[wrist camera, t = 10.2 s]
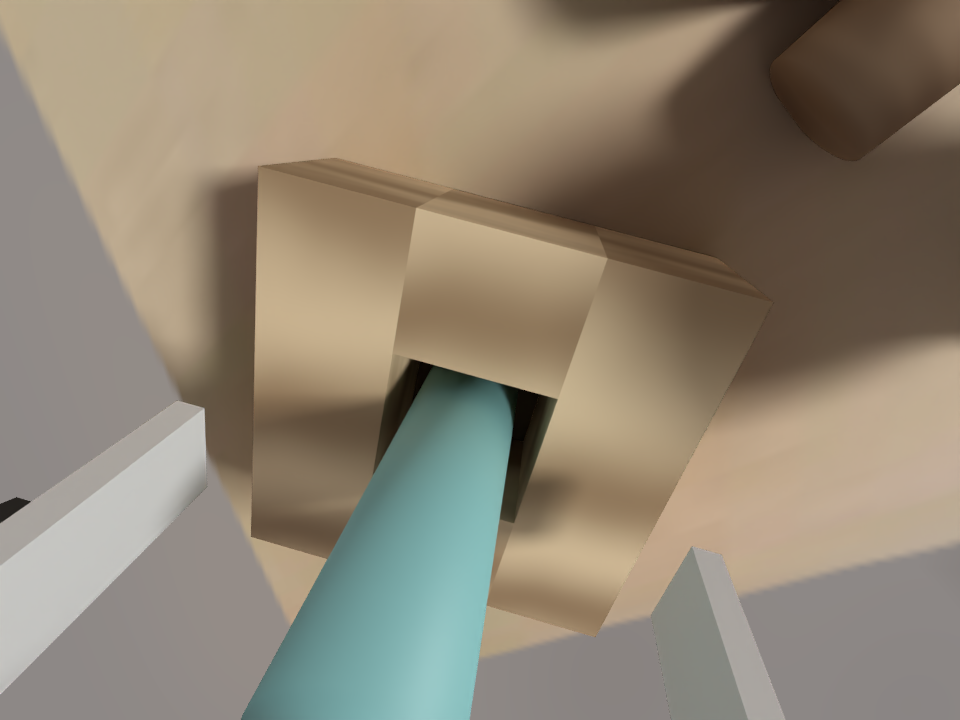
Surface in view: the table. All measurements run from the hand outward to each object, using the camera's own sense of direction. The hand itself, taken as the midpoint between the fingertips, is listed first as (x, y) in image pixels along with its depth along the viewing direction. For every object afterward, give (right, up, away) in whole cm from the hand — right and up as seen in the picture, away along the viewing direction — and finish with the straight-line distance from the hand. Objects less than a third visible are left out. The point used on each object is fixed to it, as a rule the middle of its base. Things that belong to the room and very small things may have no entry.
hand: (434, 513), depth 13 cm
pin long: (+1, +4, +7) cm, 8 cm away
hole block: (+1, +3, +7) cm, 8 cm away
